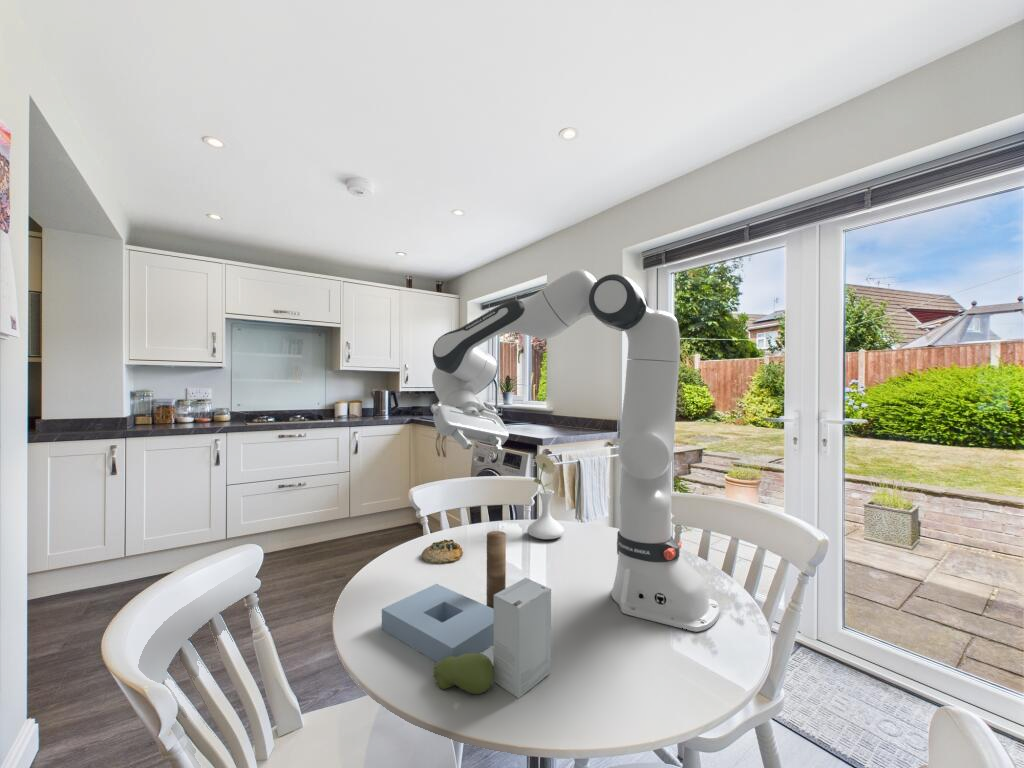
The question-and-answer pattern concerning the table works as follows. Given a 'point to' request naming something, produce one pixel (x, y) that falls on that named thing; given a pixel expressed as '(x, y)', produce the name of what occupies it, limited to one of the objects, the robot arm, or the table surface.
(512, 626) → the skincare box
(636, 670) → the table surface
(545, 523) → the flower in vase
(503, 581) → the peg
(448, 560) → the bread roll
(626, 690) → the table surface
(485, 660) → the pear
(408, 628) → the socket board
